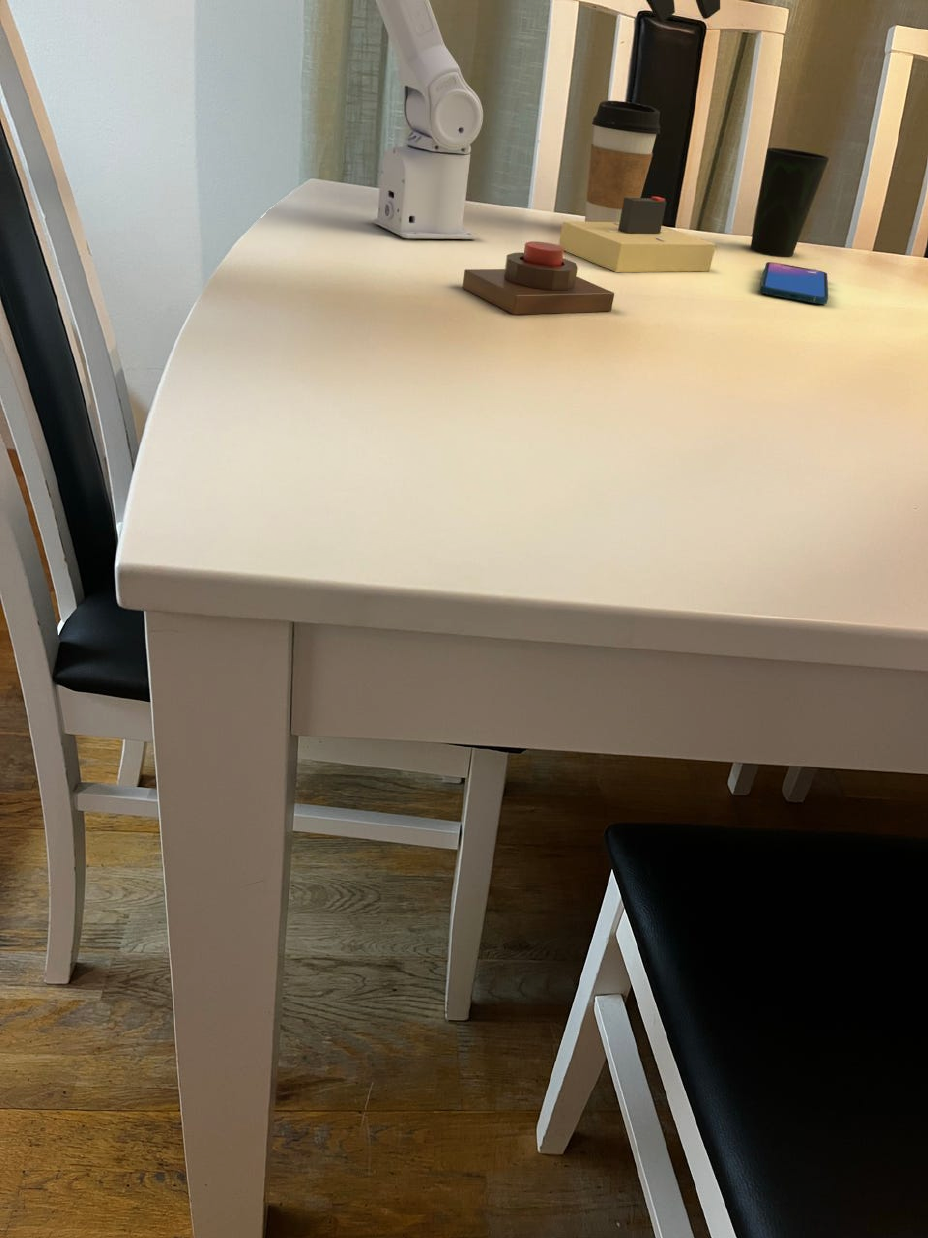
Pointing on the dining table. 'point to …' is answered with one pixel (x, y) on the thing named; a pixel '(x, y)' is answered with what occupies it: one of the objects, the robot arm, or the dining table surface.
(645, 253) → the panel
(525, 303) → the button block
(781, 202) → the cup
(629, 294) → the dining table surface
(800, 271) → the smartphone
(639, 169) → the coffee cup
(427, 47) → the robot arm
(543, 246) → the button
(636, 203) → the dark grey rectangular block
